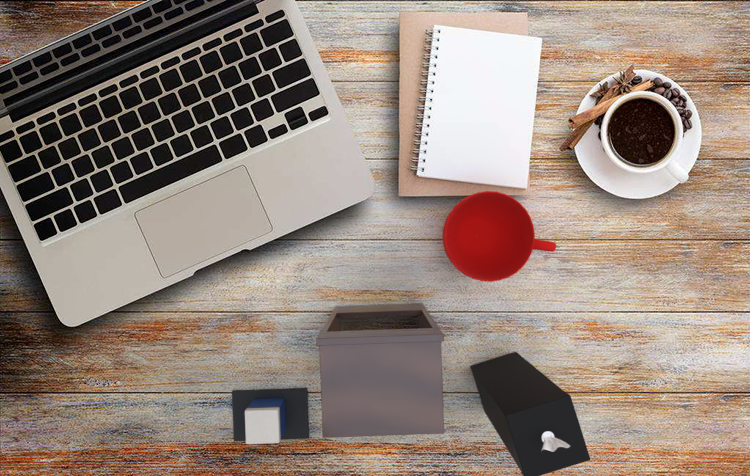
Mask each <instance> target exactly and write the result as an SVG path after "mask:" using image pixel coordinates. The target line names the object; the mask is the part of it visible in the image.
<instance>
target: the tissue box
mask: <svg viewBox="0 0 750 476" xmlns="http://www.w3.org/2000/svg"><path fill="white" fill-rule="evenodd" d="M469 367H470V371H471V373H472V377H473V381H474V383H475V386H476V389H477V393H478V395H479V399H480V402H481V405H482V408H483V411H484V414H485V415H486V417H487V418H488V420H489V421H490V423H491V425H492V426H493V428H494V430H495V432H496V433H497V435H498V437H499V438H500V439H501V441H502V443H503V445H504V446H505V448H506V449H507V451H508V452H509V454H510V456H511V458H512V459H513V461H514V462H515V464H516V466H517V467H518V469H519V471H520V472H521V475H522V476H544V475H547V474H550V473H553V472H557V471H560V470H563V469H566V468H569V467H573V466H576V465H579V464H582V463H585V462H588V461H591V457H590V453H589V450H588V447H587V443H586V440H585V437H584V434H583V430H582V428H581V427H582V426H581V424H580V421H579V419H578V415H577V413H576V409H575V405H574V402H573V399H572V396H571V395H570V394H569V393H568V392H566V391H565V390H563V389H562V388H561V387H559V386H558V385H557V384H556V383H555V382H553V381H552V380H551V379H550V378H549V377H548V376H546V375H545V374H544V373H542V372H541V371H540V370H539V369H538V368H536V367H535V366H534V365H533V364H532V363H531V362H529V361H528V360H527V359H526V358H525V357H523V356H522V355H521V354H519V353H518V351H514V352H510V353H507V354H504V355H501V356H497V357H495V358H491V359H488V360H485V361H482V362H478V363H475V364H472V365H470V366H469Z"/></svg>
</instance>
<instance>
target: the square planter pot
mask: <svg viewBox="0 0 750 476" xmlns="http://www.w3.org/2000/svg"><path fill="white" fill-rule="evenodd" d="M410 316H413V317H414V316H417V324H418V325H417V326H418V327H417V328H396V329H395V328H394V329H393V328H391V329H367V330H365V329H364V330H363V329H362V330H342V319H353V318H354V319H355V318H384V317H386V318H387V317H410ZM442 342H445V334H444V333H443V331H442V330H441V328H440V326H439V325H438V324H437V322H436V321H435V319H434V318H433V317H432V315H431V313H430V312H429V311H428V309H427V308H426V306H425V304H424V303H423V302H418V303H417V302H416V303H415V302H413V303H411V302H410V303H385V304H384V303H383V304H360V305H359V304H358V305H354V304H353V305H335V307H334V308H333V309H332V311H331V313H330V315H329V316H328V317H327V320H326V322H324V325H323V326H322V328H321V330H320V331H319V333H318V334H317V336H316V338H315V346H316V347H317V346H318V347H319V348H318V349H319V373H320V375H319V377H320V402H321V403H320V404H321V429H322V431H321V432H322V438H323V439H325V438H327V439H329V438H353V437H355V438H356V437H382V436H385V437H386V436H388V437H389V436H411V435H414V436H415V435H440V434H441V435H442V434H443V435H444V434H445V419H444V418H445V416H444V415H445V413H444V387H443V385H444V384H443V359H442V358H443V357H442Z"/></svg>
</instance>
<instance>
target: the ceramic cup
mask: <svg viewBox="0 0 750 476" xmlns="http://www.w3.org/2000/svg"><path fill="white" fill-rule="evenodd" d="M535 233H536V232H535V228H534V224H533V220H532V217H531V216H530V214H529V212H528V210H527V209H526V208H525V206H523V204H522V203H520V202H519V201H518V200H517V199H516V198H514V197H512V196H510V195H508V194H506V193H504V192H500V191H491V190H485V191H477V192H476V193H472V194H470V195H468V196H466V197H464V198H462V199H461V200H460V201H459V202H457V203H456V204H455V205H454V207H453V208H452V209H451V211H449V213H448V215H447V216H446V218H445V221H444V223H443V227H442V236H441V237H442V244H443V248H444V252H445V254H446V257H447V258H448V260H449V261H450V263H451V265H453V266H454V268H455V269H456V270H457V271H459V272H461V273H462V274H463V275H464V276H467V277H468V278H470V279H472V280H476V281H480V282H491V283H492V282H497V281H498V282H499V281H503V280H505V279H509V278H510V277H513V275H515V274H517V273H518V272H519V271H520V270H521V269H523V268H524V266H525V265H526V264H527V262H528V261H529V259H530V258H531V255H532V253H533V250H535V251H544V252H551V253H553V252H555V251H556V249H557V243H556V242H554V241H551V240H550V241H549V240H543V239H538V238H537V239H536V238H535V237H536V234H535Z"/></svg>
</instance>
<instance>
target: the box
mask: <svg viewBox="0 0 750 476" xmlns="http://www.w3.org/2000/svg"><path fill="white" fill-rule="evenodd" d="M285 430H286V415H285V398H269V399H254V400H253V401H252V402H251V404H250V405H249V406H248V407H247V409H246V410H245V432H246V441H245V444H246V445H262V444H279V443H280V442H281V441H282V440H281V438H282V436H283V434H284V432H285Z"/></svg>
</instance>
